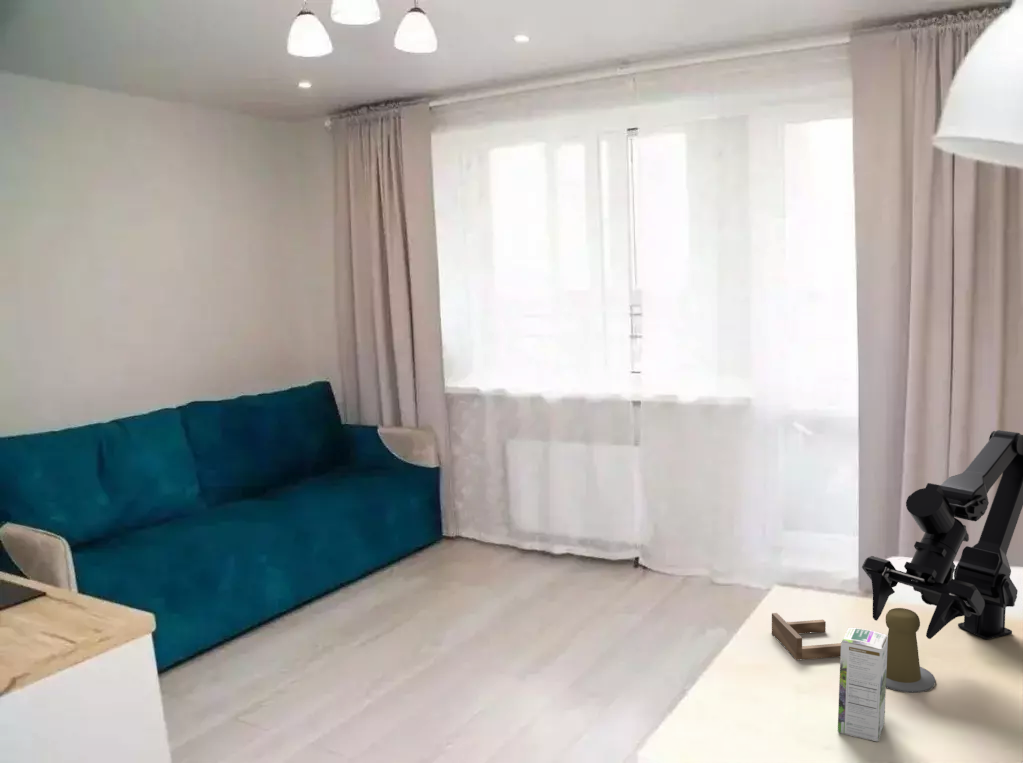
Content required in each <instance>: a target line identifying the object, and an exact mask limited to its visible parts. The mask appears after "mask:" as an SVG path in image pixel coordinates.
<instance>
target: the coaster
mask: <svg viewBox="0 0 1023 763" xmlns="http://www.w3.org/2000/svg"><path fill="white" fill-rule="evenodd" d="M920 672H921V679H920V680H919V681H917V682H913V683H903V682H897V681H893V680H891V679H888V678H887V677H886V689H890V690H894V691H896V692H903V693H922V692H926V691H930V690H932V689H933V688H934V687H935V685H936V677H935V675H934V674H933V673H932V672H931V671H929V670H928V669H926V668H924V667H922V666H920Z"/></svg>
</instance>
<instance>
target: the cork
mask: <svg viewBox="0 0 1023 763" xmlns="http://www.w3.org/2000/svg"><path fill="white" fill-rule="evenodd" d="M885 614H886V615H885V624H886V627H887V629H888V631H887V636H888V645H887V672H886V677H887V678H888V679H891V680H893V681H897V682H903V683H913V682H917V681H919V680H920V679H921V672H920V667H921V664H920V656H919V646H918V640H917V632H919V629H920V626H921V621H920V620H921V619H920V617H919V615H918V614H917V613H916V612H915V611H914V610H911V609H909V608H903V607H894V608H892V609H889V610H888V611H887V613H885Z"/></svg>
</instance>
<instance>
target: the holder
mask: <svg viewBox="0 0 1023 763" xmlns="http://www.w3.org/2000/svg"><path fill="white" fill-rule="evenodd" d="M826 625H827V624H826V620H825V619H813V620H801V621H800V620H799V621H788V622H787V621H786V620H785V619H784V618H783V617H782V616H781V615H780V614H779V613H778V612H772V613H771V635H772V636H773V635H774V636H775V637H776V638H777V639H778V640H779V641H780V642H781V643H782V644H783V645H784V646H785V647H786V648H785V647H784V646H783V645H782V644H781V643H780V642H779V641H778V640H777V639H776V638H775V637H774V636H773V637H774V638H775V639H776V640H777V641H778V642H779V643H780V644H781V645H782V646H783V647H784V648H785V650H786V651H787V650H788V651H789V652H790V653H791V654H792V655H793V656H794V657H793V656H792V655H791V654H790V653H789V652H788V651H787V652H788V653H789V654H790V655H791V656H792V657H793V658H794V659H795V660H796V661H803V659H805V660H816V659H826V658H827V659H828V658H841V642H839V643H827V644H814V645H813V644H811V645H803V637H802V636H801V635H800V634H798V633H804V634H811V633H810V632H817V633H826V631H827V630H826V627H827V626H826ZM800 659H802V660H800Z"/></svg>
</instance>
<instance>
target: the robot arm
mask: <svg viewBox="0 0 1023 763" xmlns="http://www.w3.org/2000/svg"><path fill="white" fill-rule="evenodd" d="M998 479H999V483H998V485H997V488H996V491H995V493H994V496H993V499H992V502H991V505H990V508H989V512H988V513H987V517H986V520H985V522H984V526H983V528H982V531H981V534H980V536H979V540H978V542H977V543H976V544H974V545H973V546H969V545H966V546H965V547H963V549H962V552H961V554H960V555H961V556H960V558H959V561H958V563H957V564H955V563H954V561H955V559H956V556H957V555H958V552H959V549H960V548H961V546H962V543H963V542H969V540H970V538H969V537H970V536H969V533H968V531H967V526H966V525H965V524H964V523H962V521H961V520H966V521H970V522H977V521H979V520H980V519H981V518H982V516H984V515H985V514H986V512H987V510H988V506H989V498H988V493H989V491H990V490H991V489H992V487H993V486H994V484H995V483H996V482H997V481H998ZM905 505H906V510H907V511H908V512H909V514H910V516H911V517H912V518H913V520H914V522H915V523H916V525H917V526H918V528H919V530H921V531H922V532H923V533H924V534H923V536H922V538H921V540H920V541H917V540H916V541H915V542H914V545H913V547H914V548H915V551H914V555H913V557H912V559H911V561H910V562H909V561H906V562H905V563H904V566H903V567H904V569H905V570H906V571H901V570H897V569H896V567H895V566H894V565H893V563H892V561H890V560H888V559H884V558H881V557H877V556H873V555H870V556H868V557H867V558H866V559H864V561H863V563H862V566H861V568H862V570H863V571H864V572H865V574H866V575H867V577H868V578H869V579H870V580H871V587H872V619H873V620H874V621H878V620H879V619H880V617H881V615H882V613H883V612H884V610H885V609H884V608H885V606H886V604H887V602H888V599H889V597H890V596H891V595H893V594H894V593H895V590H894V589H893V588H894V587H897V585H898V584H902V585H906V586H909V587H912V589H913V591H915V592H918V593H920V595H921V596H920V598H921V600H922V602H924V603H925V604H926V605H930V606H935V609H934V612H933V614H932V617H931V619H930V621H929V624H928V627H927V630H926V634H925V637H926V638H927V639H929V640H932V638H933V637H934V636H936V635H937V634H938V633H939V632H940V631H941V630H943V629H944V627H945V626H946V625H948V624H949V623H950V622H952V621H953V620H955V619H956V618H960V617H964V618H963V622H959V623H958V624H957V627H958V628H960V629H963V630H965V631H967V632H969V633H971V634H974V635H975V636H976V637H977V636H978V637H980V638H981V639H983V640H989V639H990V640H991V639H995V638H998V637H1004V636H1008V635H1012V634H1013V631H1012V629H1009V628H1008V627H1006V608H1008V607H1010V608H1011V607H1012V608H1013V607H1015V606H1016V605H1015V603H1016V601H1017V598H1018V592H1019V591H1018V589H1017V587H1016V586H1015V584H1014V582H1013V581H1012V579H1011V575H1012V568H1011V566H1010V563H1009V559H1008V556H1007V554H1008V551H1009V550H1008V549H1009V548H1010V545H1011V542H1012V538H1013V536H1014V533H1015V530H1016V528H1017V525H1018V521H1019V518H1020V515H1021V513H1022V509H1023V434H1022V433H1020V432H1017V431H1016V432H1015V431H1008V430H1001V429H1000V430H999V429H997V430H996V431H995V430H993V431H991V433H990V435H989V438H988V442H987V443H986V444H985V445H984V446H983V448H982V449H981V450H980V451H979V452H978V454H977V455H976V456H975V457H974V459H973V460H972V461H971V462H970V463H969V465H968V466H967V467H966V468H965V470H964V471H962V472H961V473H958V474H955V475H952V476H949V477H947V479H946V480H944V482H942V483H940V484H937V483H930V482H927V483H926V486H925V488H924V487H923V488H920V489H916V490H915V491H914V492H912V493H911V494H910V495H908V496H907V499H906V502H905ZM959 519H961V520H959Z"/></svg>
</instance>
